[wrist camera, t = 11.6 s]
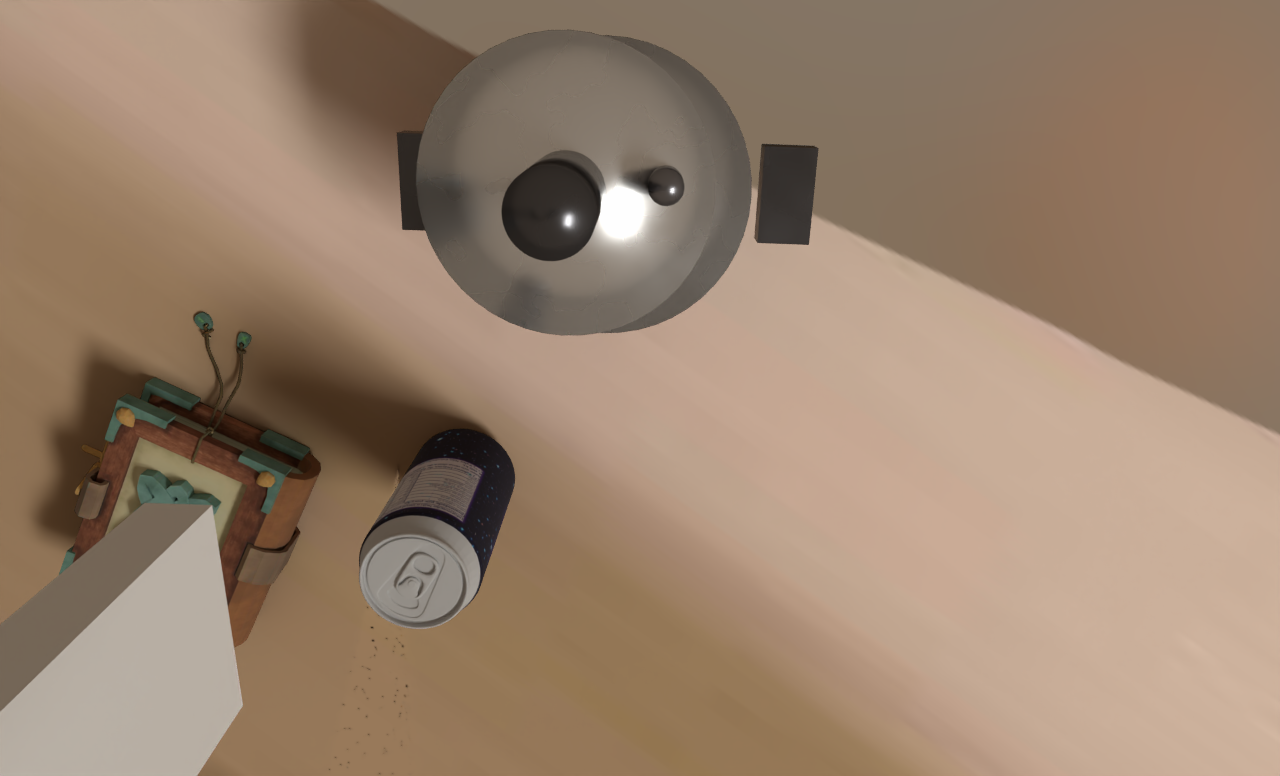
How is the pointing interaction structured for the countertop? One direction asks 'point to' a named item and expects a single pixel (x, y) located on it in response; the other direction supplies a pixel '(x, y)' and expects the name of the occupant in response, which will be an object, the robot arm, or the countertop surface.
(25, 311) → the countertop surface
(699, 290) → the pot
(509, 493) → the beverage can
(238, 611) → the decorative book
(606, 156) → the lid
